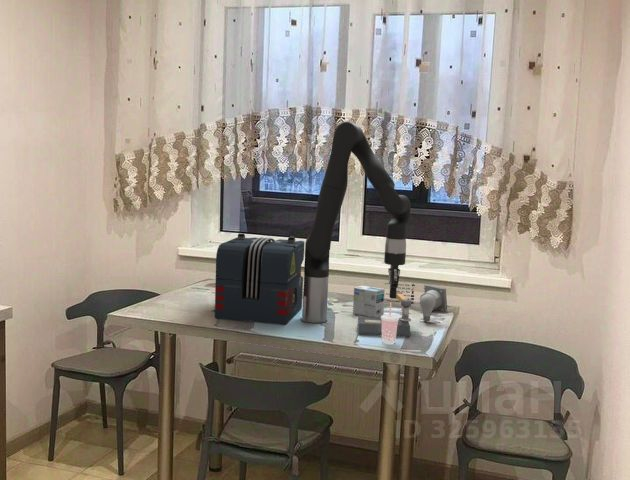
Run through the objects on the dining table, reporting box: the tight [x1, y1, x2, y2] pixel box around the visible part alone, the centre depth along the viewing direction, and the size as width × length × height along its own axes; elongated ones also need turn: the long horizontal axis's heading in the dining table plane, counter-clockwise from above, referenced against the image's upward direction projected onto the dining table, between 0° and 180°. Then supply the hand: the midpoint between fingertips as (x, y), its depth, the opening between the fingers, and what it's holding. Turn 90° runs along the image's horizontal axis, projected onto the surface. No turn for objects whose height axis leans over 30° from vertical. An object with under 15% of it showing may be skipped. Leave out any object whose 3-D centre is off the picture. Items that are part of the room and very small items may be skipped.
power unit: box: [214, 232, 306, 326], centre depth 261 cm, size 28×28×30 cm
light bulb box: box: [352, 285, 386, 317], centre depth 267 cm, size 11×7×11 cm, turn 56°
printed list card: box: [385, 282, 448, 313], centre depth 281 cm, size 27×11×10 cm, turn 80°
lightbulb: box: [419, 294, 436, 323], centre depth 259 cm, size 6×6×11 cm
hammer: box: [395, 291, 412, 307], centre depth 249 cm, size 15×4×2 cm, turn 7°
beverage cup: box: [380, 301, 400, 345], centre depth 229 cm, size 6×6×14 cm
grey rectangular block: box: [356, 306, 412, 338], centre depth 242 cm, size 19×10×9 cm, turn 89°
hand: (392, 298), depth 244 cm, fingers closed
